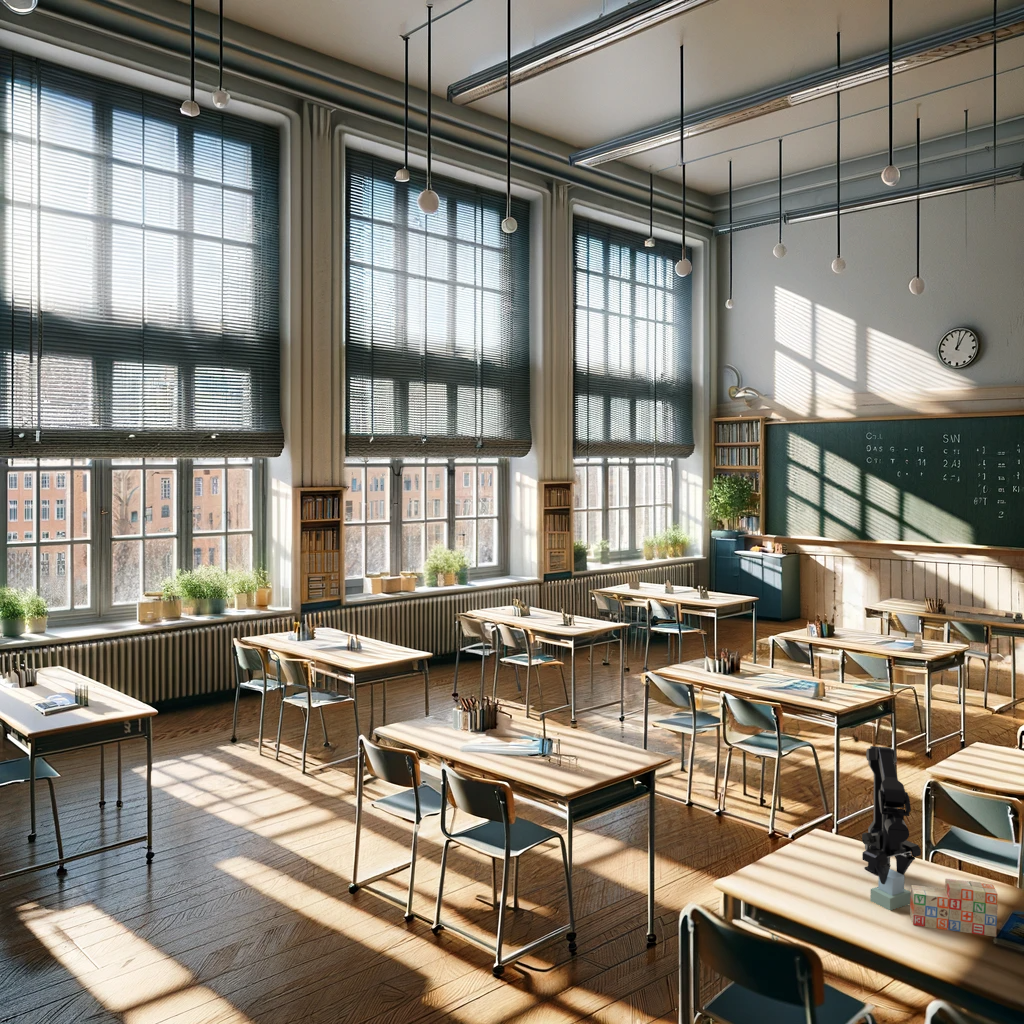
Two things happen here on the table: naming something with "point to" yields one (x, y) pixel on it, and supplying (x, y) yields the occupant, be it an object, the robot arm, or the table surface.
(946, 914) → the stack of blocks
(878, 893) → the pale green block
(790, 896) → the table surface
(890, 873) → the cube
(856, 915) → the table surface
